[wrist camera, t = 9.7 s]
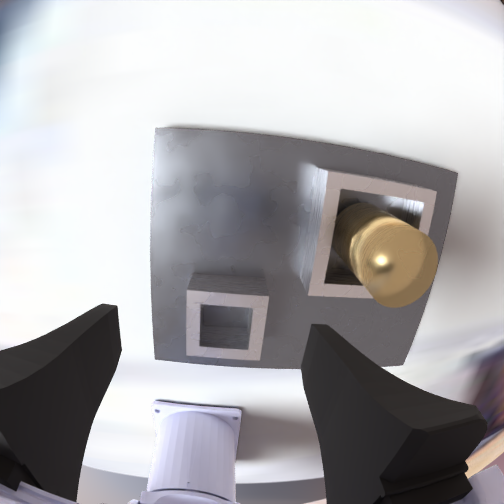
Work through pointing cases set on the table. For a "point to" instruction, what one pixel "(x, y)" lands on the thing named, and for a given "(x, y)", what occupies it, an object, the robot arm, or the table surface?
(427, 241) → the pipe stub
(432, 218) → the socket plate
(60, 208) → the table surface
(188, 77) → the table surface
